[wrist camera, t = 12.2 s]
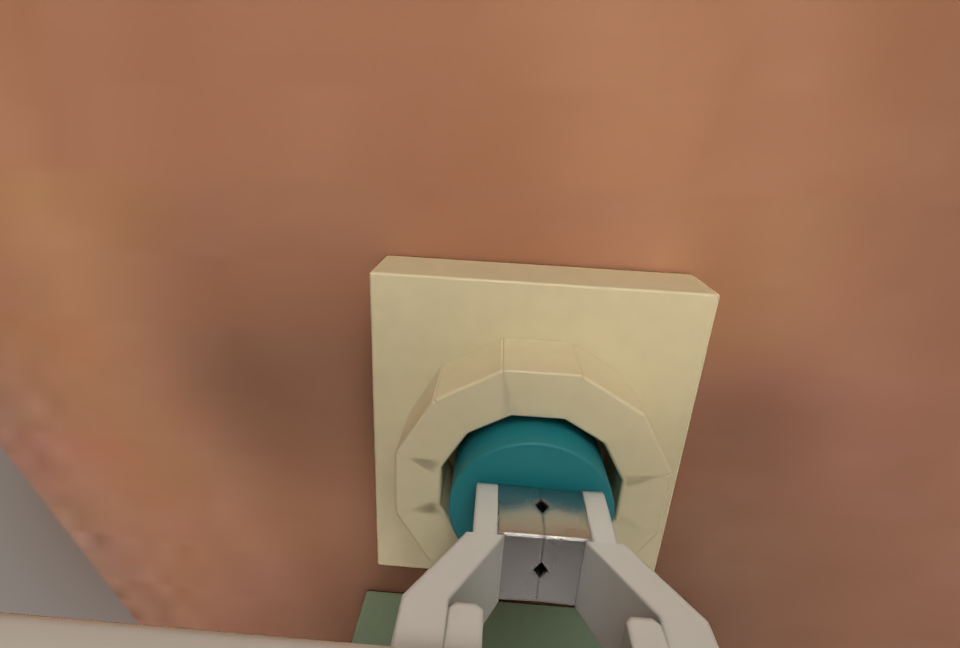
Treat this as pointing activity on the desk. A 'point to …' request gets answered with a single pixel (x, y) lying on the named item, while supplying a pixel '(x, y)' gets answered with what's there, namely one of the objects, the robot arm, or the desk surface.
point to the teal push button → (525, 462)
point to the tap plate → (486, 624)
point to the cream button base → (529, 382)
